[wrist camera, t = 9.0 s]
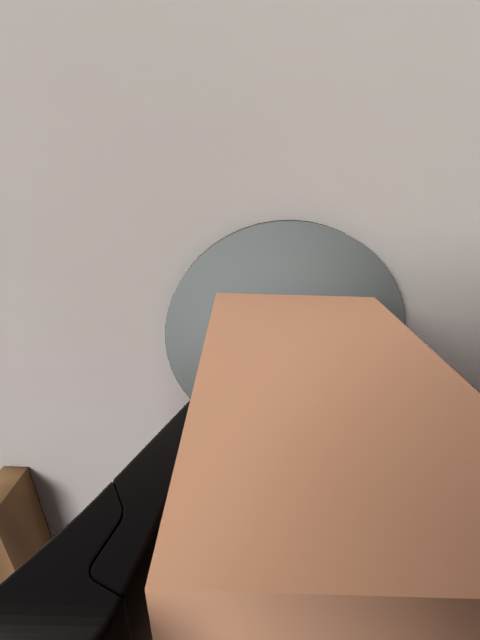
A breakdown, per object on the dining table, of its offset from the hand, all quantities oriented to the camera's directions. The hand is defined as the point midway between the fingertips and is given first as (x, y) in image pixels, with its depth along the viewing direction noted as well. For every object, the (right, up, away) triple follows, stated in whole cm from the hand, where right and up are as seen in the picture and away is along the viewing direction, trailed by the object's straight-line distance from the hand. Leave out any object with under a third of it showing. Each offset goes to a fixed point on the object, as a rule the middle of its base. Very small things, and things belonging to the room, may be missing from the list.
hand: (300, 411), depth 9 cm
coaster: (0, +2, +4) cm, 4 cm away
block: (0, +1, +2) cm, 2 cm away
